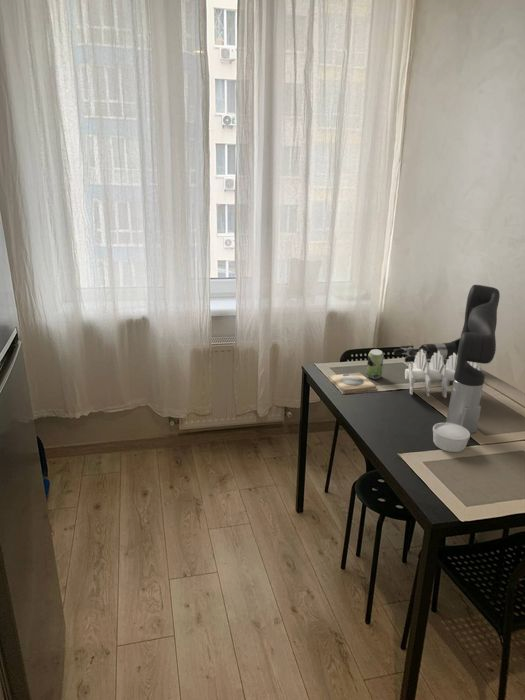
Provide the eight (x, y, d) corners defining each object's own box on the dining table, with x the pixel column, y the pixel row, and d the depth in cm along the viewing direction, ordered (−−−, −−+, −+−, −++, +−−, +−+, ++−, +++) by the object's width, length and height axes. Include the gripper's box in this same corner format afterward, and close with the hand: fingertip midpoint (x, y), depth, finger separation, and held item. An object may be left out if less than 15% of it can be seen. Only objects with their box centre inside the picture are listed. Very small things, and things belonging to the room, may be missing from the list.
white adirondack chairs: (401, 397, 203) (467, 399, 200) (409, 397, 185) (480, 399, 182) (402, 351, 205) (467, 353, 202) (409, 347, 187) (480, 348, 184)
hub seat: (375, 389, 199) (376, 385, 199) (343, 393, 195) (343, 388, 195) (359, 375, 212) (359, 371, 211) (328, 378, 208) (328, 374, 207)
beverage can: (380, 374, 214) (383, 347, 209) (382, 381, 207) (385, 354, 203) (364, 373, 214) (367, 346, 210) (366, 380, 207) (369, 353, 203)
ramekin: (438, 432, 169) (440, 418, 167) (472, 444, 162) (475, 430, 161) (424, 445, 161) (427, 431, 159) (460, 458, 154) (463, 443, 152)
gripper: (424, 338, 221) (391, 341, 216) (444, 350, 208) (410, 353, 203) (422, 354, 223) (389, 357, 219) (442, 366, 211) (407, 370, 206)
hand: (399, 355), depth 211 cm, fingers open, 8 cm apart
